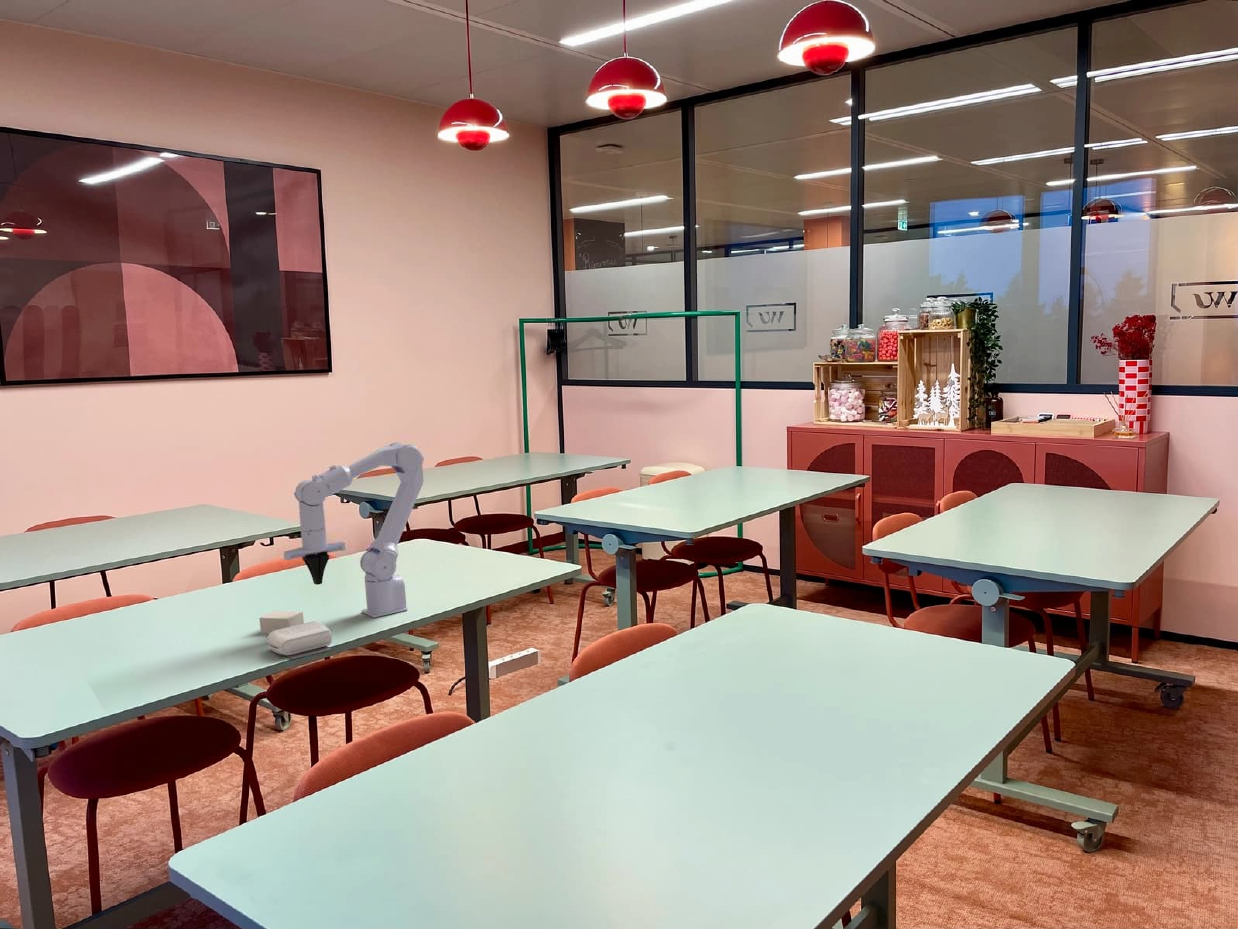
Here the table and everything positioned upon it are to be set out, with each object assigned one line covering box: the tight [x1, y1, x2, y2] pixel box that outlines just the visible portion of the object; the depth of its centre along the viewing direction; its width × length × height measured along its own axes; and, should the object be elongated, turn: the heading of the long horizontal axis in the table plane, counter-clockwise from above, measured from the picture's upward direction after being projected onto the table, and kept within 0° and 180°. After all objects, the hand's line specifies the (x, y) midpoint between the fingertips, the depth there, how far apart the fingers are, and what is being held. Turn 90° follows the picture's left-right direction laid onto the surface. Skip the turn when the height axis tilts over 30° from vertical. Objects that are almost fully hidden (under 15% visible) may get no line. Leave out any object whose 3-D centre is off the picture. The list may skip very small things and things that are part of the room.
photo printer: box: [266, 620, 333, 656], centre depth 208 cm, size 10×4×12 cm
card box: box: [259, 610, 305, 634], centre depth 224 cm, size 6×8×4 cm
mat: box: [285, 645, 333, 661], centre depth 209 cm, size 9×14×1 cm, turn 38°
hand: (317, 583), depth 225 cm, fingers closed
